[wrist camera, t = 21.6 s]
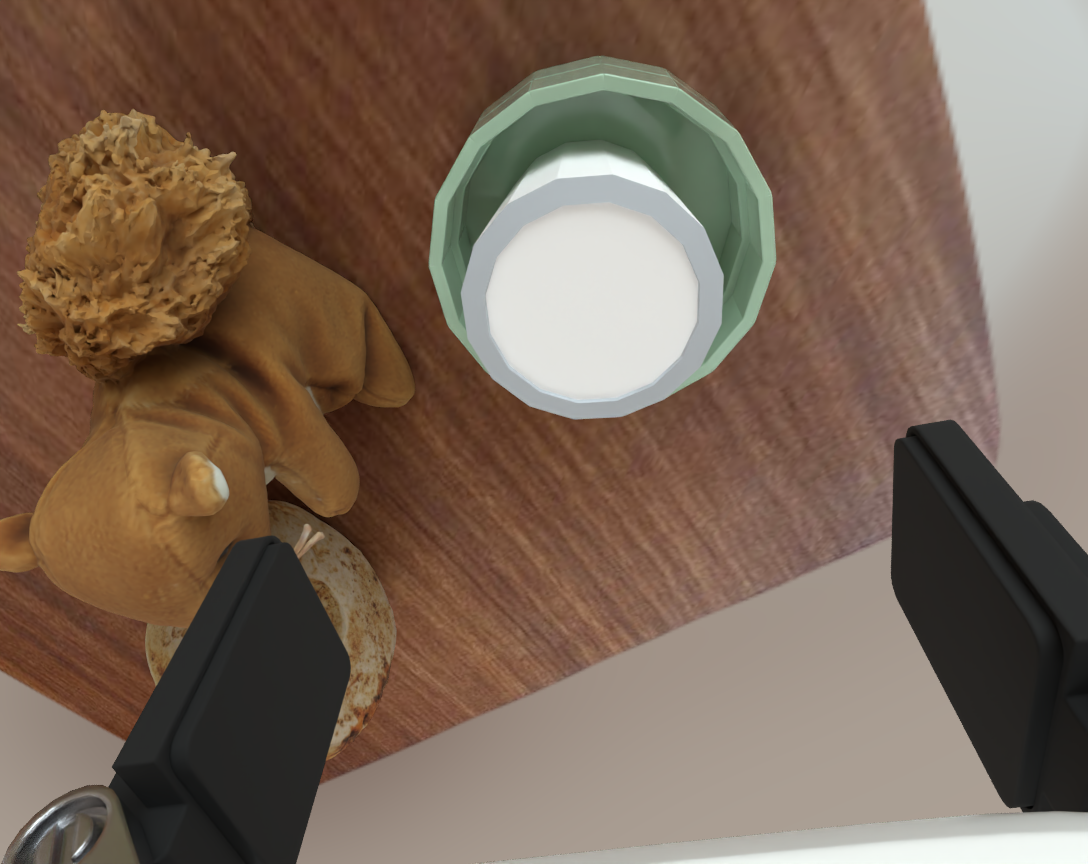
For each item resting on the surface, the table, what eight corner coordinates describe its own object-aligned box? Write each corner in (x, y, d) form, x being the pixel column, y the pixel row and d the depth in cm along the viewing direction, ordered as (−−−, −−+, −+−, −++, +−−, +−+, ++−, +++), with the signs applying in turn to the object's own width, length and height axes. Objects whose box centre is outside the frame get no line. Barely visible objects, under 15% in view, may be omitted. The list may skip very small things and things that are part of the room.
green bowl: (493, 370, 29) (481, 433, 26) (413, 98, 24) (383, 125, 20) (756, 321, 28) (784, 380, 24) (731, 20, 23) (762, 34, 19)
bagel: (428, 592, 36) (383, 790, 27) (373, 625, 37) (314, 823, 29) (257, 446, 32) (143, 627, 23) (202, 489, 33) (75, 675, 25)
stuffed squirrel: (213, 467, 32) (24, 739, 21) (19, 124, 25) (-425, 266, 14) (435, 426, 31) (358, 695, 20) (298, 49, 24) (51, 139, 12)
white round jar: (520, 339, 28) (506, 445, 22) (458, 152, 24) (421, 218, 19) (706, 293, 27) (743, 392, 21) (669, 90, 23) (701, 139, 17)
